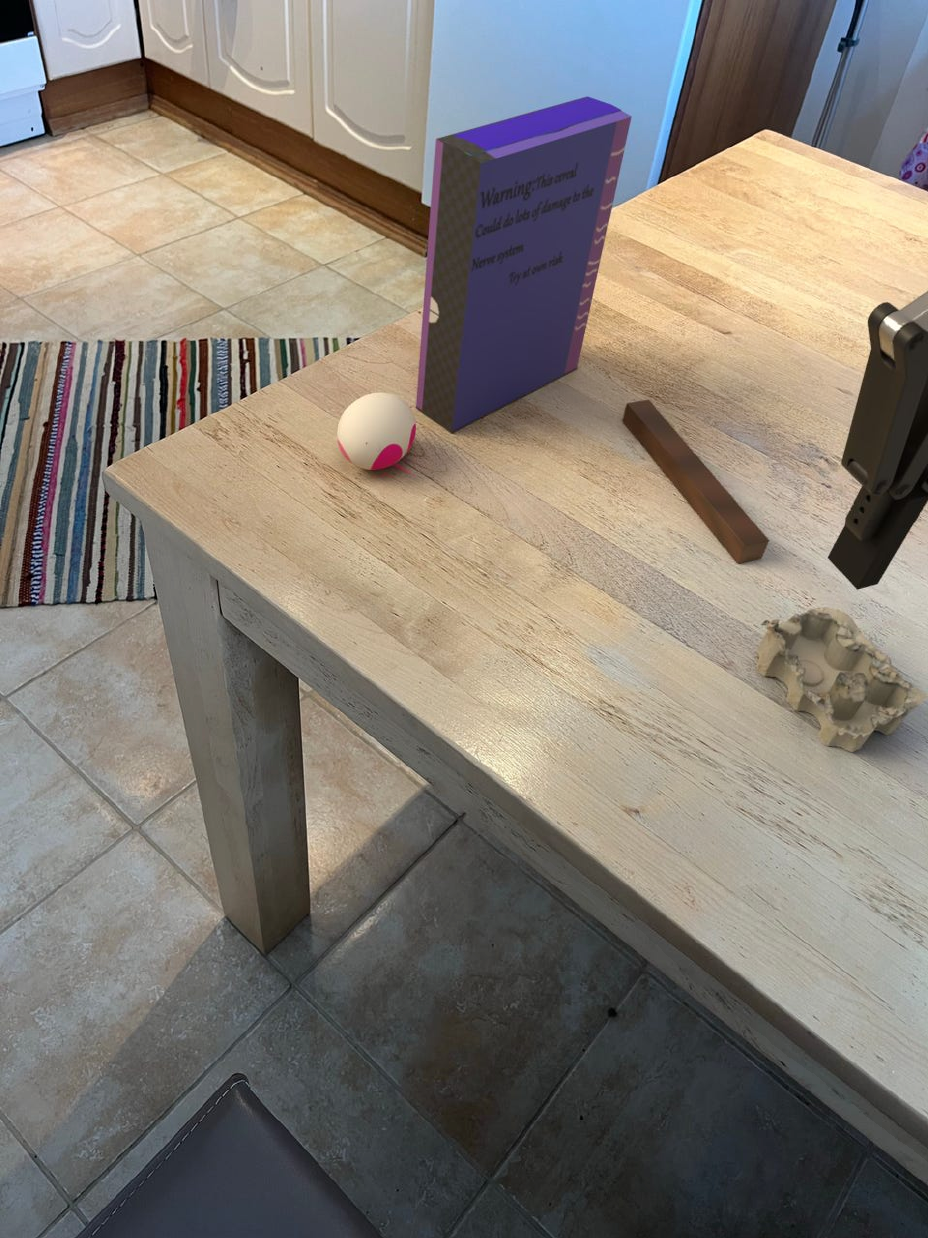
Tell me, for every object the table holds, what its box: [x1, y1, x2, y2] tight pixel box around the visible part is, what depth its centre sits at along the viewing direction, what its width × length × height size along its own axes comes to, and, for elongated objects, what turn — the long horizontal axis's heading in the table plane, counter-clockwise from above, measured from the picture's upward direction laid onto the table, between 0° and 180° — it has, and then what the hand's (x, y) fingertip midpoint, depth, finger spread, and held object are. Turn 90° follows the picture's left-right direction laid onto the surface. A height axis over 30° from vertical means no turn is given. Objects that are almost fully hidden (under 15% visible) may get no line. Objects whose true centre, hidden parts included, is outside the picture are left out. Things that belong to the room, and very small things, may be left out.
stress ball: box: [336, 392, 417, 475], centre depth 80 cm, size 8×8×7 cm
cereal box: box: [415, 95, 632, 434], centre depth 82 cm, size 17×5×24 cm, turn 134°
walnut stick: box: [622, 399, 770, 564], centre depth 83 cm, size 20×2×2 cm, turn 22°
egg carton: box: [755, 606, 928, 753], centre depth 67 cm, size 11×8×4 cm
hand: (852, 570), depth 54 cm, fingers closed
